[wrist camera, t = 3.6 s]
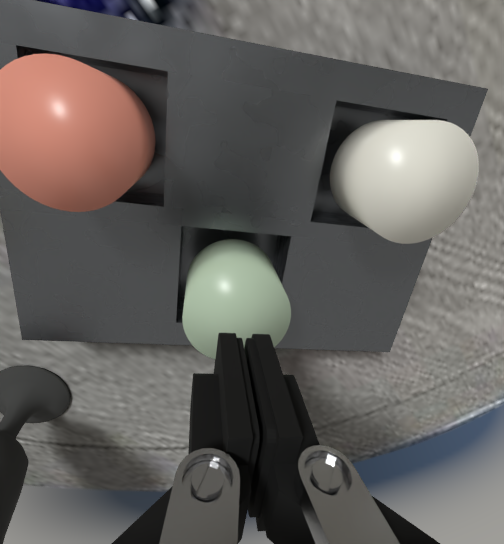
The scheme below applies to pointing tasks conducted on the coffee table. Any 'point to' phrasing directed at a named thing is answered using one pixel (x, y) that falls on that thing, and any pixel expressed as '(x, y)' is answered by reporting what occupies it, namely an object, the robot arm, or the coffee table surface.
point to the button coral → (71, 133)
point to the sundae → (17, 411)
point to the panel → (217, 185)
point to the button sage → (233, 296)
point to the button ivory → (405, 177)
